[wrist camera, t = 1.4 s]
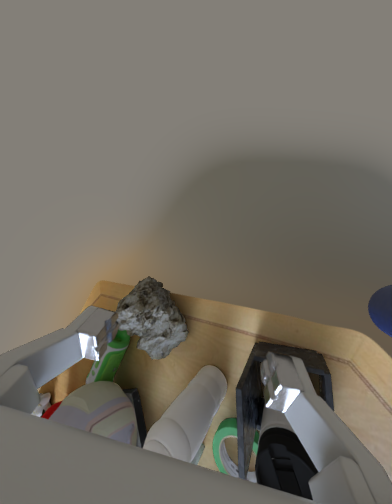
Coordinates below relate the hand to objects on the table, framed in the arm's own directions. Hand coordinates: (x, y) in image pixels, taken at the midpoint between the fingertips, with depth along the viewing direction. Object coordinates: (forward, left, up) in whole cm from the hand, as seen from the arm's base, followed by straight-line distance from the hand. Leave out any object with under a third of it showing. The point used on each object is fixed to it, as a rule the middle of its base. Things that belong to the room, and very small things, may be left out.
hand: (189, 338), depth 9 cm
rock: (+20, -5, -28) cm, 34 cm away
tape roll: (+18, +28, -32) cm, 46 cm away
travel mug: (+3, +17, -32) cm, 36 cm away
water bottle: (+19, +15, -32) cm, 40 cm away
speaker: (+48, +3, -31) cm, 57 cm away
